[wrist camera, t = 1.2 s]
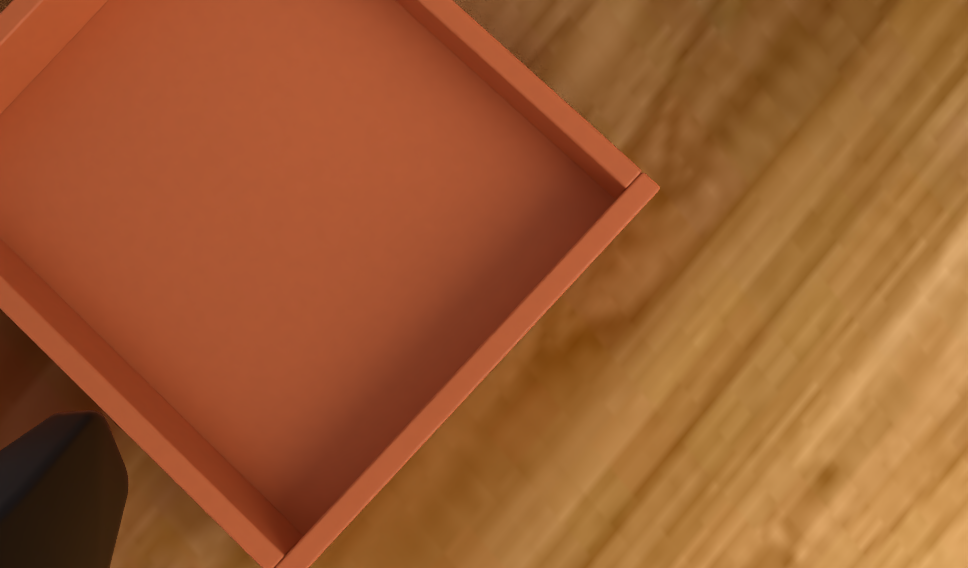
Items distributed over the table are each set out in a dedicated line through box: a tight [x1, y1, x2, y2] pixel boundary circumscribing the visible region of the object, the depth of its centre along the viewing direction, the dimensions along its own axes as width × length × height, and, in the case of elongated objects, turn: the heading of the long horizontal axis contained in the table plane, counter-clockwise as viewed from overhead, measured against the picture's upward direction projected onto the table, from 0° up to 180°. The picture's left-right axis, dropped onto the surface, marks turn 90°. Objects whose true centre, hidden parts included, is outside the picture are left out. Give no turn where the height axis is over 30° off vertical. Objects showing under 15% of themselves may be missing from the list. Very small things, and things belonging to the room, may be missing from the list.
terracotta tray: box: [0, 0, 660, 568], centre depth 22 cm, size 15×13×3 cm
